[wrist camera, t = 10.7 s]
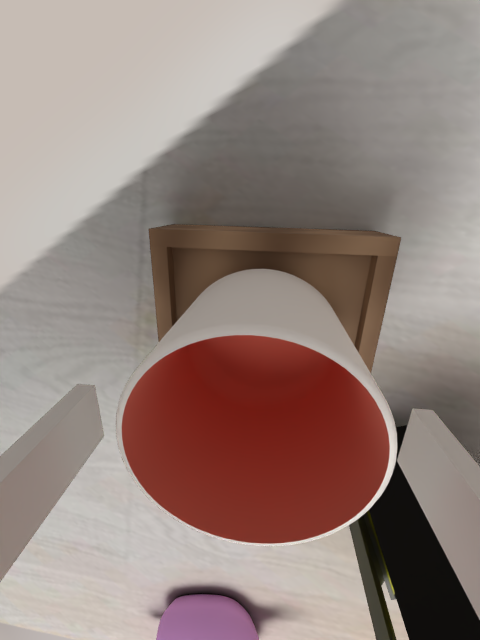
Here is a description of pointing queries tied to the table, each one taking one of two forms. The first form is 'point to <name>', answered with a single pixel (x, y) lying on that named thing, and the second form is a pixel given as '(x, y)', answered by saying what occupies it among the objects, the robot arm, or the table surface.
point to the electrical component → (409, 568)
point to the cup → (258, 416)
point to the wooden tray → (283, 255)
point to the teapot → (206, 619)
